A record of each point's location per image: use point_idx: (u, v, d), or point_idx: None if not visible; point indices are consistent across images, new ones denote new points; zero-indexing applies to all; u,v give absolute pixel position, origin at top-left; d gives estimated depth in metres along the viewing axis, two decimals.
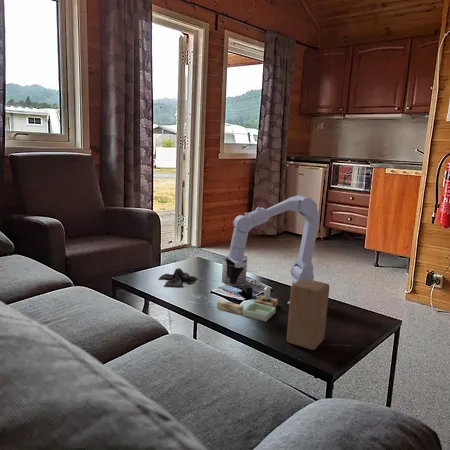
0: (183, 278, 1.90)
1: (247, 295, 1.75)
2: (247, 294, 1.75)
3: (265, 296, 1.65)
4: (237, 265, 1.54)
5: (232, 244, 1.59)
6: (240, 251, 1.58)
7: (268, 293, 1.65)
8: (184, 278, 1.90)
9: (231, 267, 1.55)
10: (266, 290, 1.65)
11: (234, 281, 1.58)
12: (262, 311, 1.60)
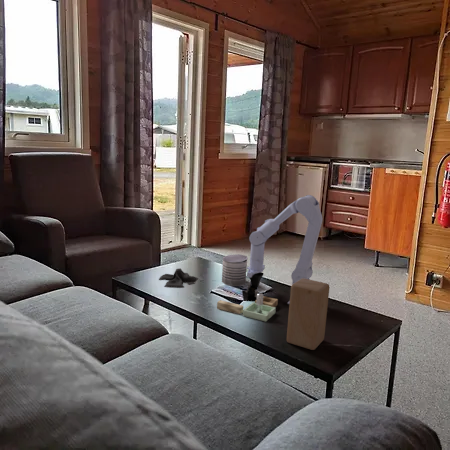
0: (183, 278, 1.90)
1: (249, 295, 1.75)
2: (249, 294, 1.75)
3: (258, 303, 1.56)
4: (248, 275, 1.72)
5: (250, 256, 1.77)
6: (255, 262, 1.75)
7: (261, 300, 1.56)
8: (184, 278, 1.90)
9: None
10: (259, 297, 1.56)
11: (255, 287, 1.79)
12: (262, 311, 1.60)
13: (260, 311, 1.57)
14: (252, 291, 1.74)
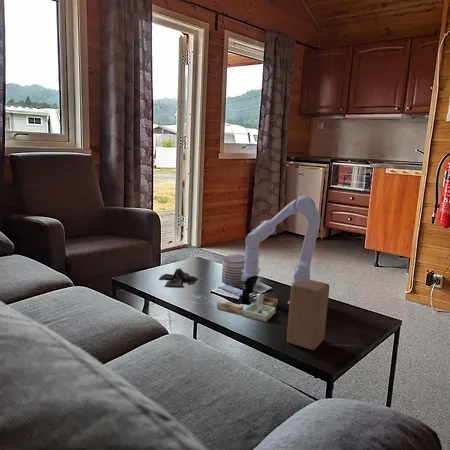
0: (183, 278, 1.90)
1: (243, 299, 1.70)
2: (243, 298, 1.70)
3: (258, 303, 1.57)
4: (242, 278, 1.67)
5: (245, 259, 1.72)
6: (250, 266, 1.70)
7: (261, 300, 1.56)
8: (184, 278, 1.90)
9: None
10: (259, 297, 1.56)
11: None
12: (262, 311, 1.60)
13: (260, 311, 1.57)
14: (246, 295, 1.70)
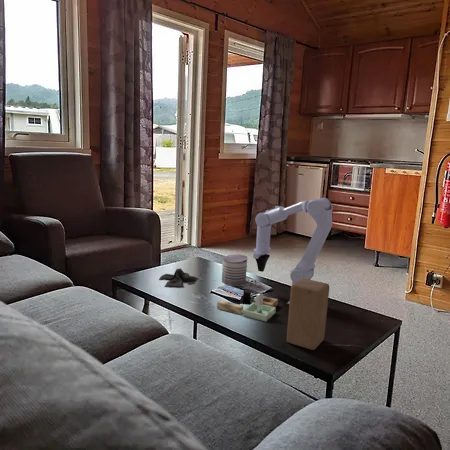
0: (183, 278, 1.89)
1: (244, 300, 1.70)
2: (244, 299, 1.70)
3: (258, 303, 1.57)
4: (255, 256, 1.73)
5: None
6: (262, 244, 1.76)
7: (261, 300, 1.56)
8: (185, 278, 1.90)
9: None
10: (259, 296, 1.56)
11: (261, 269, 1.80)
12: (262, 311, 1.60)
13: (260, 311, 1.57)
14: (247, 296, 1.69)
